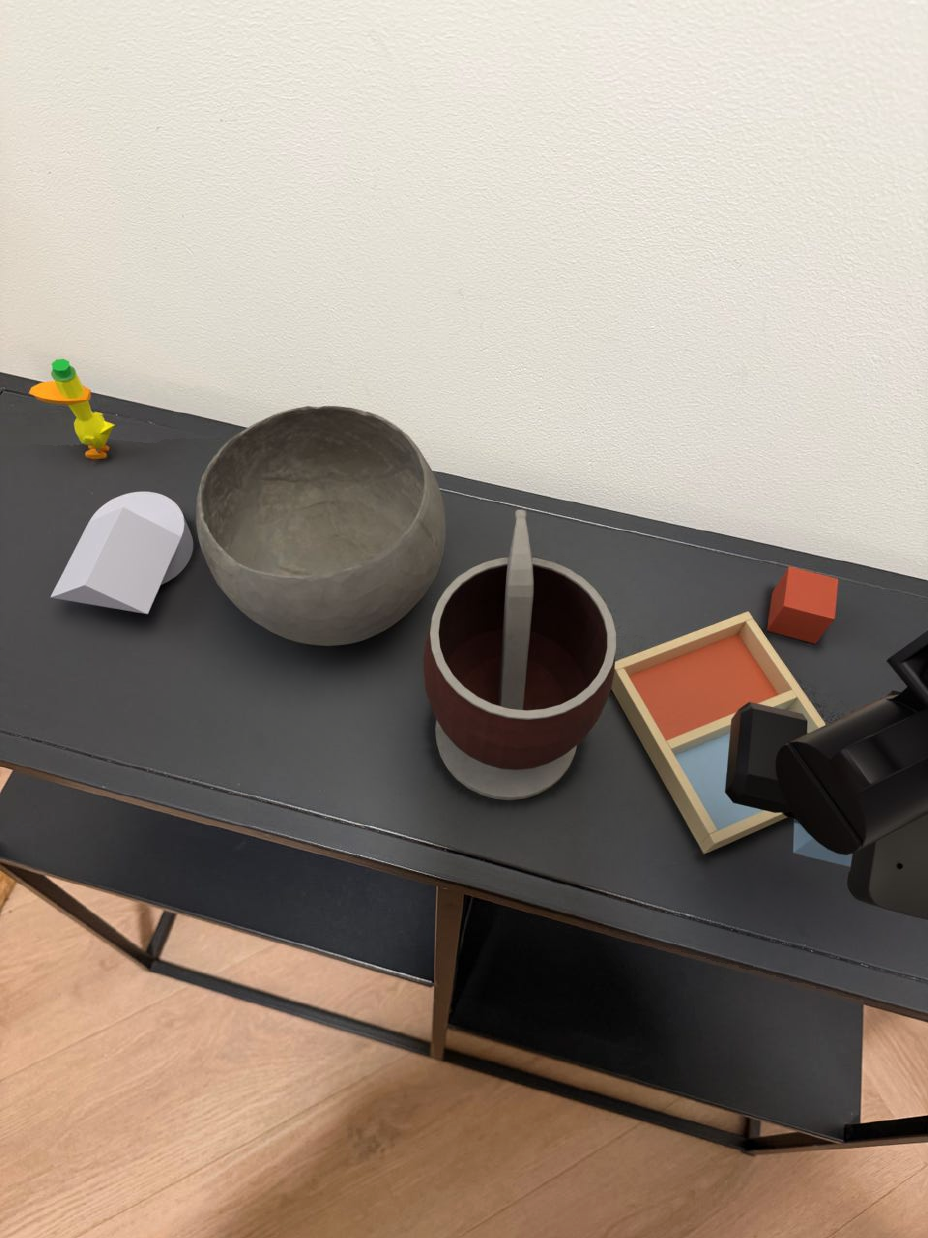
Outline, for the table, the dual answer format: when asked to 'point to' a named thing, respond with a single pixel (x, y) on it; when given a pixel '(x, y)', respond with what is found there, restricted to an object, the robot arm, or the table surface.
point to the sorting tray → (706, 717)
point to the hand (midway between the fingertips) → (831, 825)
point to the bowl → (322, 524)
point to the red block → (803, 605)
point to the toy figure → (76, 407)
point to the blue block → (816, 848)
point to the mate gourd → (517, 671)
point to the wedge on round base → (127, 553)
